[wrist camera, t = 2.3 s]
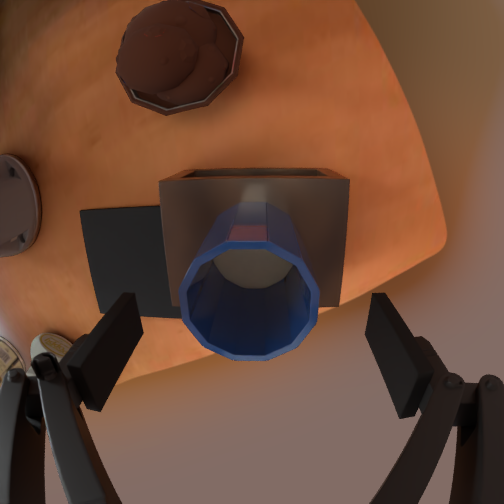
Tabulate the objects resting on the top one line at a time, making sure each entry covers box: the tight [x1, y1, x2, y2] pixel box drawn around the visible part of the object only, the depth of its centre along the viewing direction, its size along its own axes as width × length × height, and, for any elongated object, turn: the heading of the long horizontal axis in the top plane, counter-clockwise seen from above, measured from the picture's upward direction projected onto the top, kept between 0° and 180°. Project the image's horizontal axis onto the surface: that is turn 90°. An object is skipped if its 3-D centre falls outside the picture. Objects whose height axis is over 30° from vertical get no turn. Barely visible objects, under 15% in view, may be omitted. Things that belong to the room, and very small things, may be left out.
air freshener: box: [26, 333, 73, 376], centre depth 40 cm, size 11×8×10 cm
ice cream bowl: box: [116, 0, 244, 116], centre depth 23 cm, size 11×11×15 cm
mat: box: [80, 206, 182, 319], centre depth 38 cm, size 13×15×1 cm
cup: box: [178, 202, 320, 361], centre depth 22 cm, size 8×8×10 cm
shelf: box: [159, 168, 350, 307], centre depth 31 cm, size 16×12×9 cm
